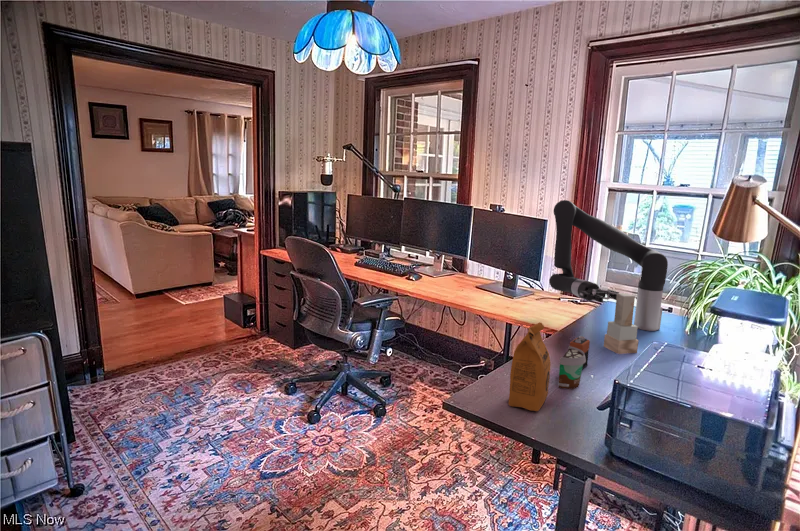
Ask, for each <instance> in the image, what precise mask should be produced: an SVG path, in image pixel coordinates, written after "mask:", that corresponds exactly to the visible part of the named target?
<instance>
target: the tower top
mask: <svg viewBox="0 0 800 531" xmlns="http://www.w3.org/2000/svg"><path fill="white" fill-rule="evenodd" d="M638 330H639V329H638V326H635V325H634V324H633V323H632V326H621V325H619V324H617V323H615V322H614V320H612V321H610V320H609V321H607V327H606V334H607V335H609V336H611V337H613V338H615V339H617V340H619V341H622V340H636V339H637V337H638V336H637V335H638Z"/></svg>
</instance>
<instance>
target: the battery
mask: <svg viewBox="0 0 800 531" xmlns="http://www.w3.org/2000/svg"><path fill="white" fill-rule="evenodd" d="M569 346H571V347H575V348H578V349H580V350H582V351H583V352H584V354H585V358H586V362H585V363H584V364H583V367H582V370H583V369H584V368H586V367H587V366H588V364H589V363H588V361H589V353H590V352H589V350H590V339H587V338H586V337H585V336H583V335H580V336H578V337H575V339H573V340H571V341H570V342H569Z"/></svg>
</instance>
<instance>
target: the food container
mask: <svg viewBox="0 0 800 531" xmlns="http://www.w3.org/2000/svg"><path fill="white" fill-rule="evenodd" d="M567 348H568V349H567V351H566V352H564V354H563V355H562V356H560V358H559V363H558V364H559V368H558V369H559V370H558V383H557V384H558V386H557V388H558V389H562V390H563V389H564V390H574V389H575V390H576V389H577V388H579V386H580V382H581V376H582V372H583V369H582V367H583V364H584V363H585V362H586V358H585V354H584V352H583V351H582V350H580V349H578V348H575V347H571V346H570V345H568V347H567Z"/></svg>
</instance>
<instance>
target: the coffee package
mask: <svg viewBox="0 0 800 531" xmlns="http://www.w3.org/2000/svg"><path fill="white" fill-rule="evenodd" d="M544 329H545V325H544V324H543V323H542V322H541V321H540V322H538V323H536V324H534V325H532V326H529V327H528V331H527V333H526V335H525V336H524V337H523V338H522V340H521V341H520V342H519V343H518V344H517V346H516V347H515V350H514V352H513V356H512V361H511V367H510V374H509V394H508V403H507V404H508V406H510V407H513V408H514V407H515V408H522V409H524V410H527V411H530V412H531V411H535V412H538V411H540V409H541V408H542V406H543V405H544V403H545V402H546V399H547V397H548V395H549V384H550V378H551V377H550V374H551V364H552V363H551V358H550V357H551V356H550V352H549V351H548V348H547V346H546V344H545V343H544V341H543V338H542V332H541V331H543V330H544Z"/></svg>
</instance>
